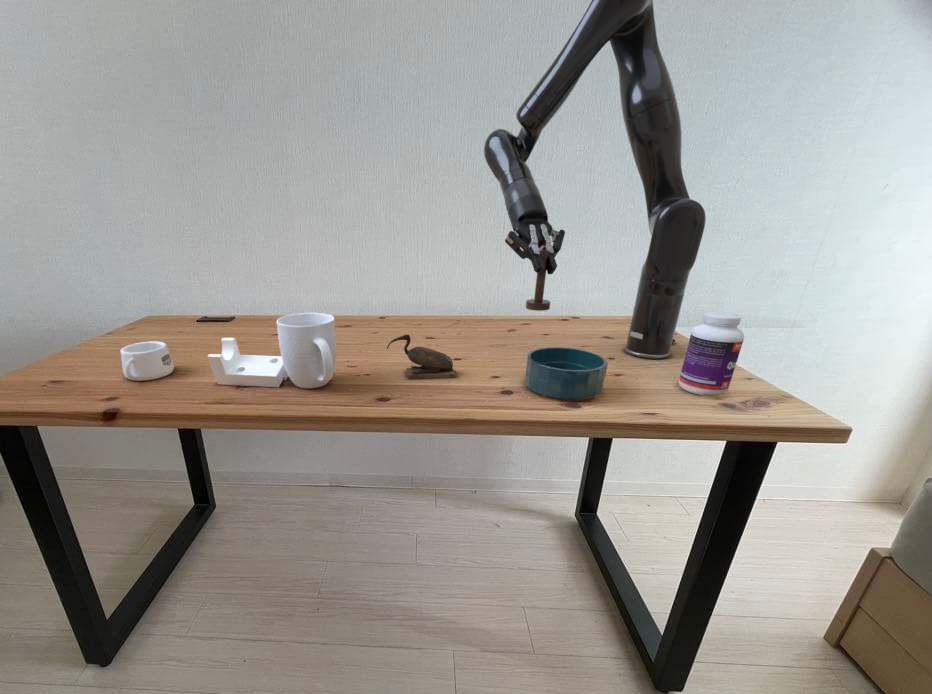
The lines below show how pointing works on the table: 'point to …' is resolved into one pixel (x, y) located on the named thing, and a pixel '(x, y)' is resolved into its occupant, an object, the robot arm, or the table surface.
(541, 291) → the brown peg
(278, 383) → the bracket
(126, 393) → the table surface
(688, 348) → the pill bottle
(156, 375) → the mug
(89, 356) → the table surface
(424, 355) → the figurine
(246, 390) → the table surface
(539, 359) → the bowl
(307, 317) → the mug
